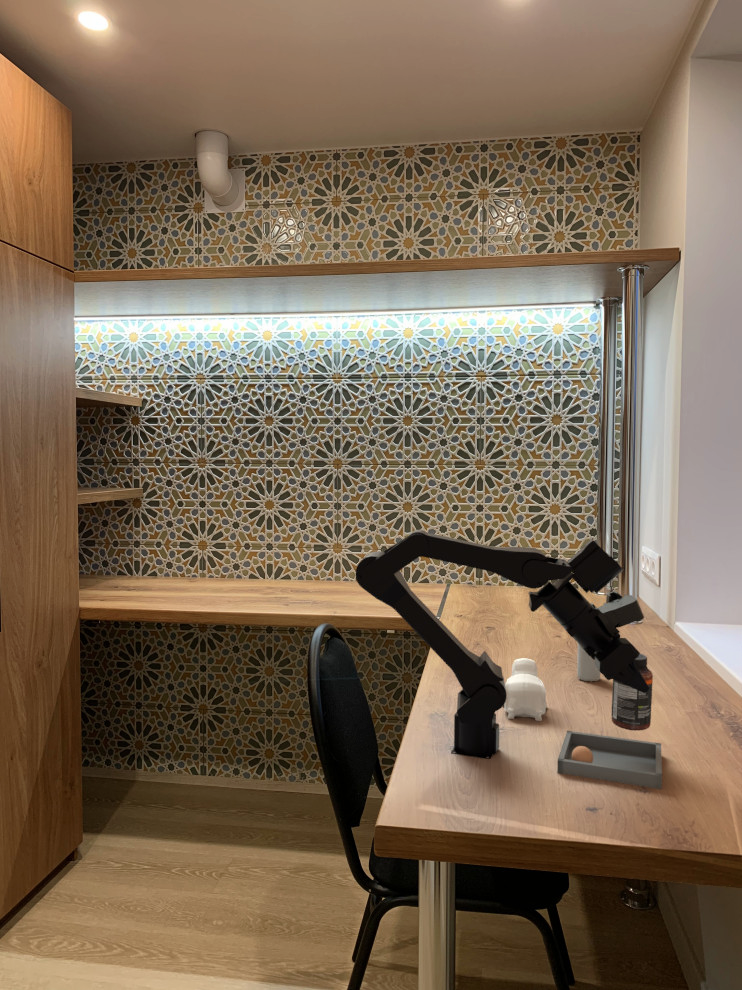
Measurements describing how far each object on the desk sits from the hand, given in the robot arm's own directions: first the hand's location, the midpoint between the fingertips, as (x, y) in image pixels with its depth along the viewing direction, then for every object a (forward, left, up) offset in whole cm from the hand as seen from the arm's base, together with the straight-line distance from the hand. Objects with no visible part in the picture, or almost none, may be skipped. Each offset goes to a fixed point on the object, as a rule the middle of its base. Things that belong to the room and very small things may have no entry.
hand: (641, 684), depth 115 cm
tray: (-4, -5, -12) cm, 14 cm away
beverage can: (-11, +40, -12) cm, 44 cm away
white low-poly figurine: (-21, +16, -12) cm, 29 cm away
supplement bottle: (-2, 0, -7) cm, 7 cm away
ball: (-8, -8, -12) cm, 16 cm away
